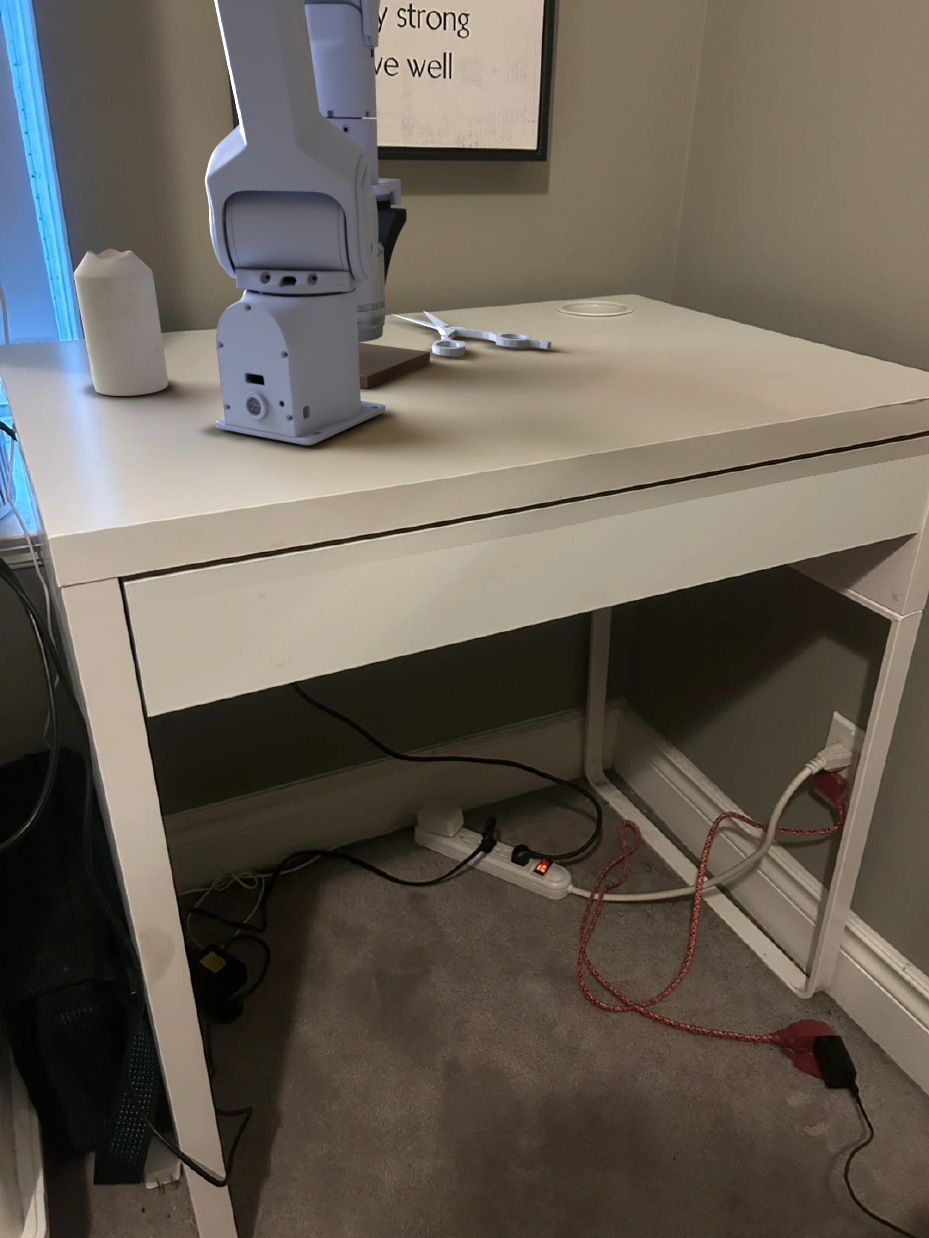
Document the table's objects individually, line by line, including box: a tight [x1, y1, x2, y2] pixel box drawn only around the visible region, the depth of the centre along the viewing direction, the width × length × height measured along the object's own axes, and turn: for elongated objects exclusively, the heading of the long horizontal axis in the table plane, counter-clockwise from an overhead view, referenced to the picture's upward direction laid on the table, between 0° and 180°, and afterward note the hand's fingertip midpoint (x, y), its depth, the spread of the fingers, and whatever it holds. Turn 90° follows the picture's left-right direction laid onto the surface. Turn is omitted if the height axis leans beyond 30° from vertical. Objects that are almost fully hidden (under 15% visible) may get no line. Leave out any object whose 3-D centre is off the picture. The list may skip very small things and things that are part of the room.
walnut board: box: [358, 342, 431, 390], centre depth 78 cm, size 10×10×1 cm
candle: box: [73, 248, 169, 397], centre depth 69 cm, size 6×6×10 cm
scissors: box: [391, 310, 552, 357], centre depth 90 cm, size 11×1×20 cm
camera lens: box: [356, 240, 387, 343], centre depth 75 cm, size 6×6×8 cm
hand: (347, 306), depth 76 cm, fingers closed on camera lens, 6 cm apart
